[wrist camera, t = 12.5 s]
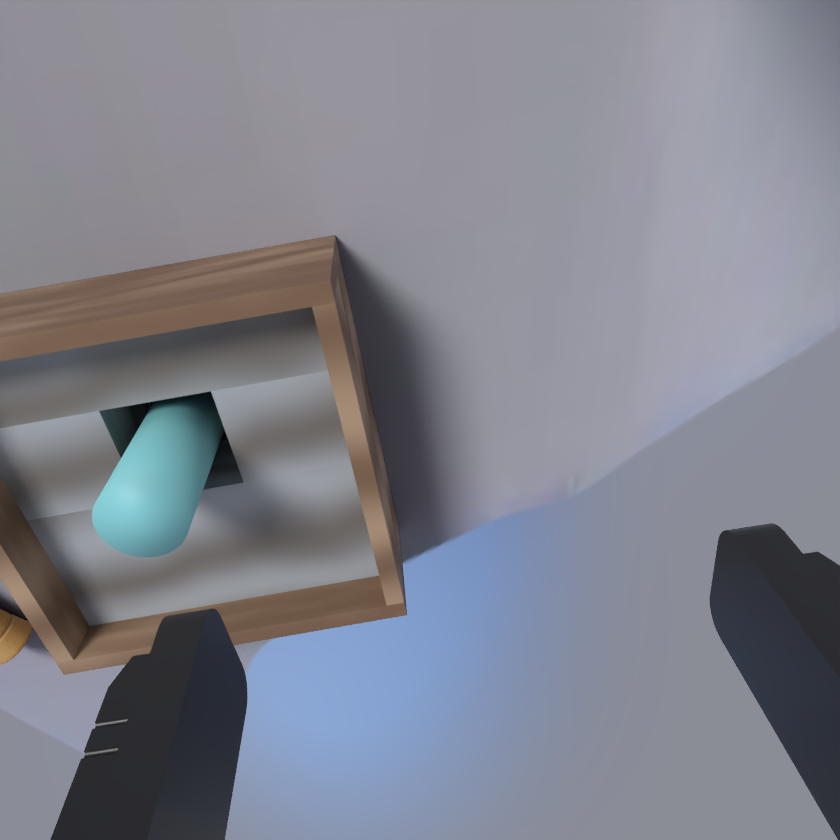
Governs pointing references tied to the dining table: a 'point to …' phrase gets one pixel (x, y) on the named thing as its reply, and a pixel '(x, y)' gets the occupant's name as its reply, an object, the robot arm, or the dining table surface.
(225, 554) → the bore box
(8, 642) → the kendama
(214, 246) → the dining table surface
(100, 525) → the peg
